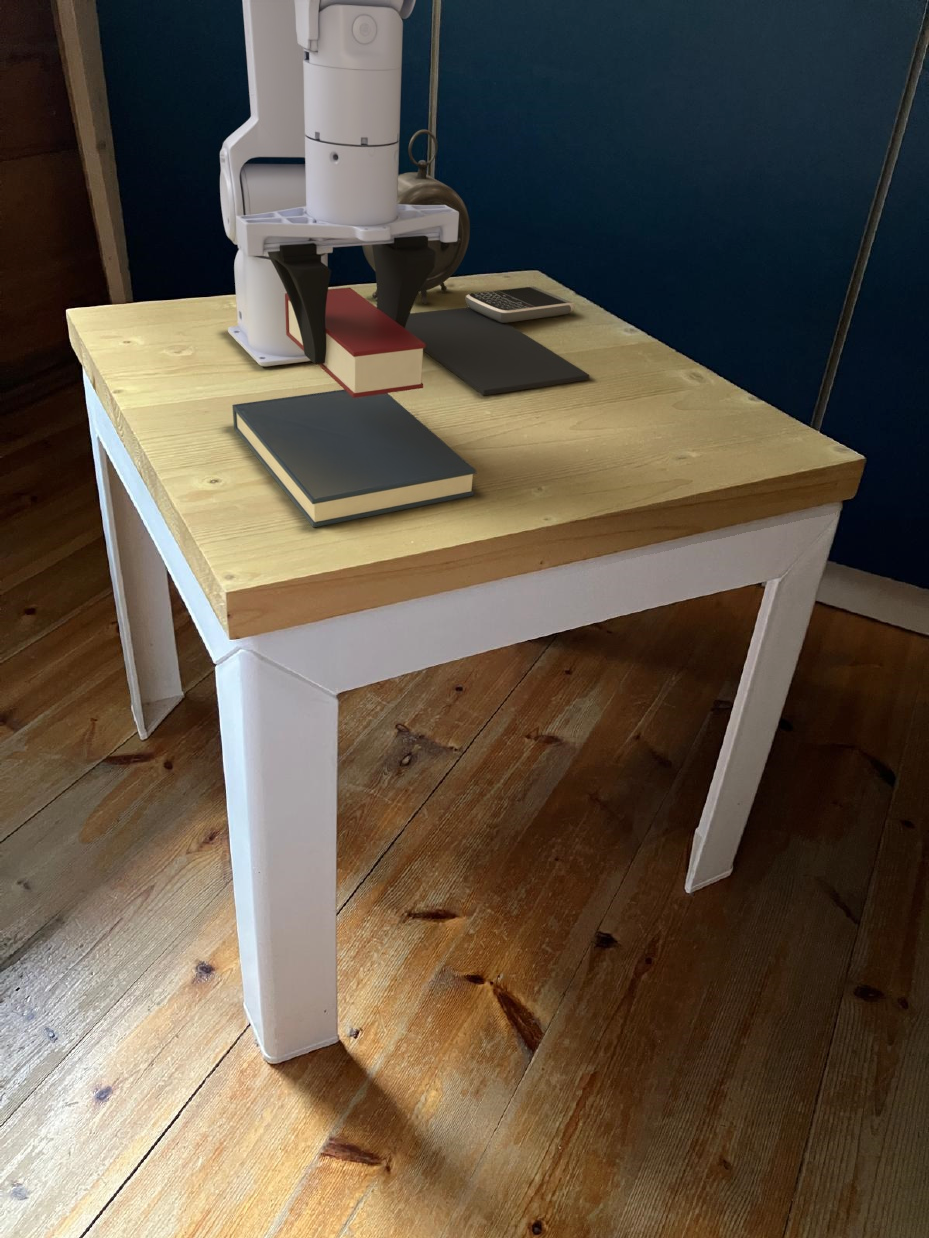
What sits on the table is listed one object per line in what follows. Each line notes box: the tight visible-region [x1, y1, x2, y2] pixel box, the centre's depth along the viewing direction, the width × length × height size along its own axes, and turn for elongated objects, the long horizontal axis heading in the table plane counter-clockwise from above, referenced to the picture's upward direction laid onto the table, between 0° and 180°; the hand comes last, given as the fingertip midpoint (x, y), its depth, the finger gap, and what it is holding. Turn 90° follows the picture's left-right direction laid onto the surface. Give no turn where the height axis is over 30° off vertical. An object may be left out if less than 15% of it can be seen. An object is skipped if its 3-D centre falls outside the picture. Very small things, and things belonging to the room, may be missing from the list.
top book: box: [285, 287, 425, 398], centre depth 67 cm, size 12×5×3 cm, turn 29°
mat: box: [405, 306, 590, 396], centre depth 93 cm, size 20×11×1 cm, turn 29°
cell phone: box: [465, 286, 576, 324], centre depth 101 cm, size 6×11×1 cm, turn 130°
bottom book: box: [231, 388, 477, 528], centre depth 71 cm, size 16×12×2 cm
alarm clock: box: [361, 129, 471, 304], centre depth 99 cm, size 11×5×16 cm, turn 123°
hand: (351, 354), depth 67 cm, fingers closed on top book, 5 cm apart
